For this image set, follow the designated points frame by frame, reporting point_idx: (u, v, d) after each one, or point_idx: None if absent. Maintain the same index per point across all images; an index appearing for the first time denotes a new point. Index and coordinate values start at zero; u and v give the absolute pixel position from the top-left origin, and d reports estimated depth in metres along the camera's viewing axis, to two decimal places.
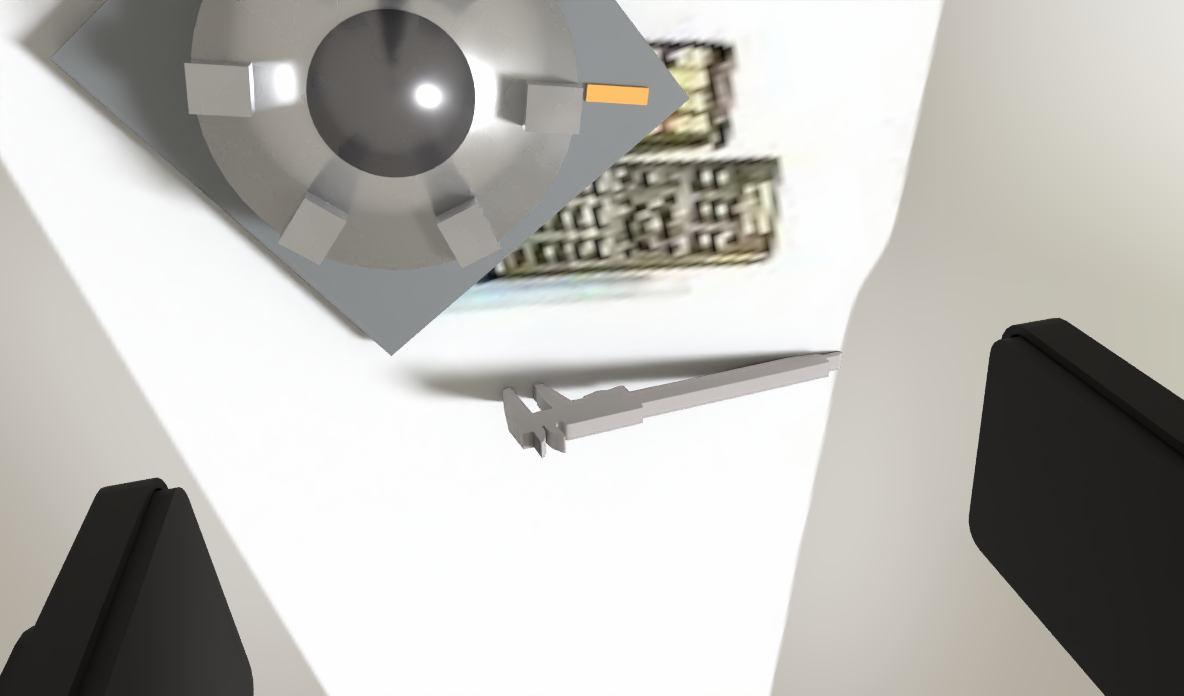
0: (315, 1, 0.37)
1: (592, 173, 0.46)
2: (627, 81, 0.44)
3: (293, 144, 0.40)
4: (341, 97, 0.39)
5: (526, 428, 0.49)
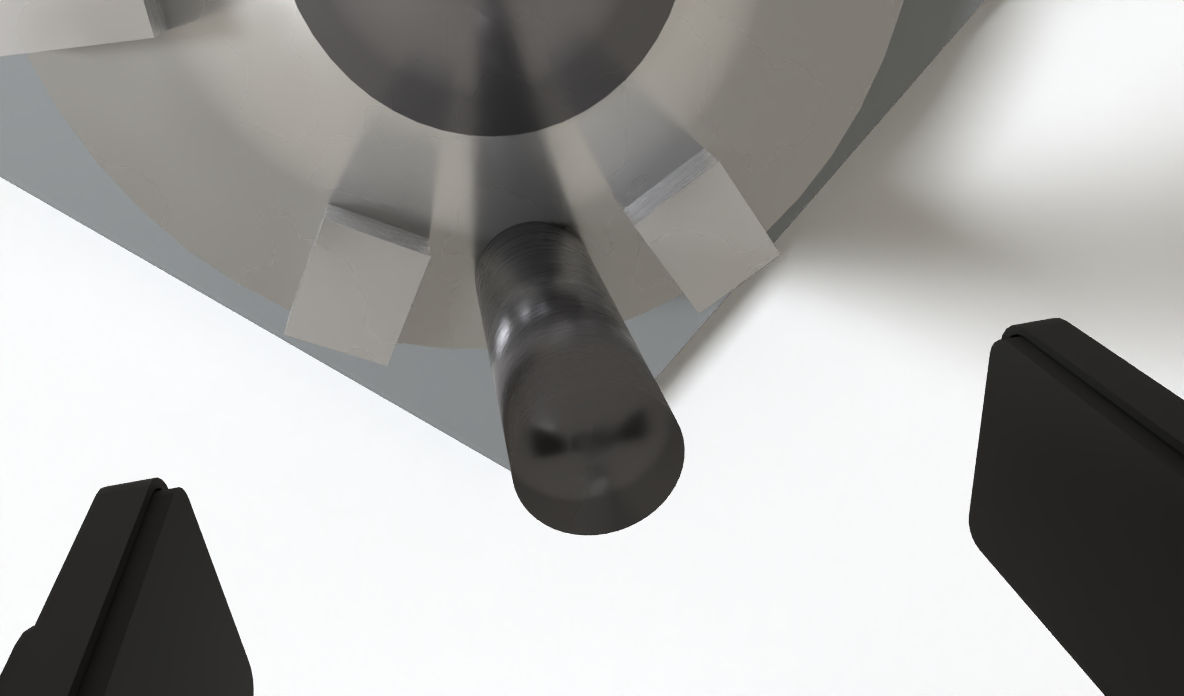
0: (670, 111, 0.18)
1: None
2: None
3: None
4: None
5: None
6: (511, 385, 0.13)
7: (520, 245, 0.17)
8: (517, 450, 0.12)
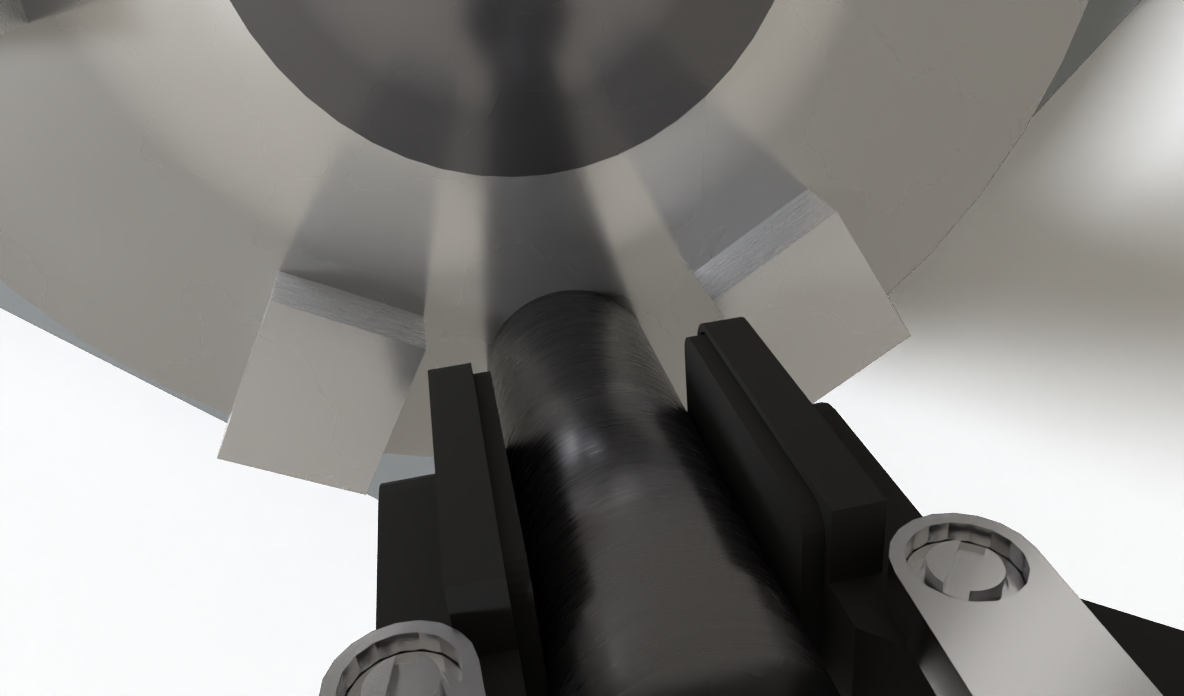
0: (765, 138, 0.13)
1: None
2: None
3: None
4: None
5: None
6: (558, 611, 0.08)
7: (555, 332, 0.12)
8: None
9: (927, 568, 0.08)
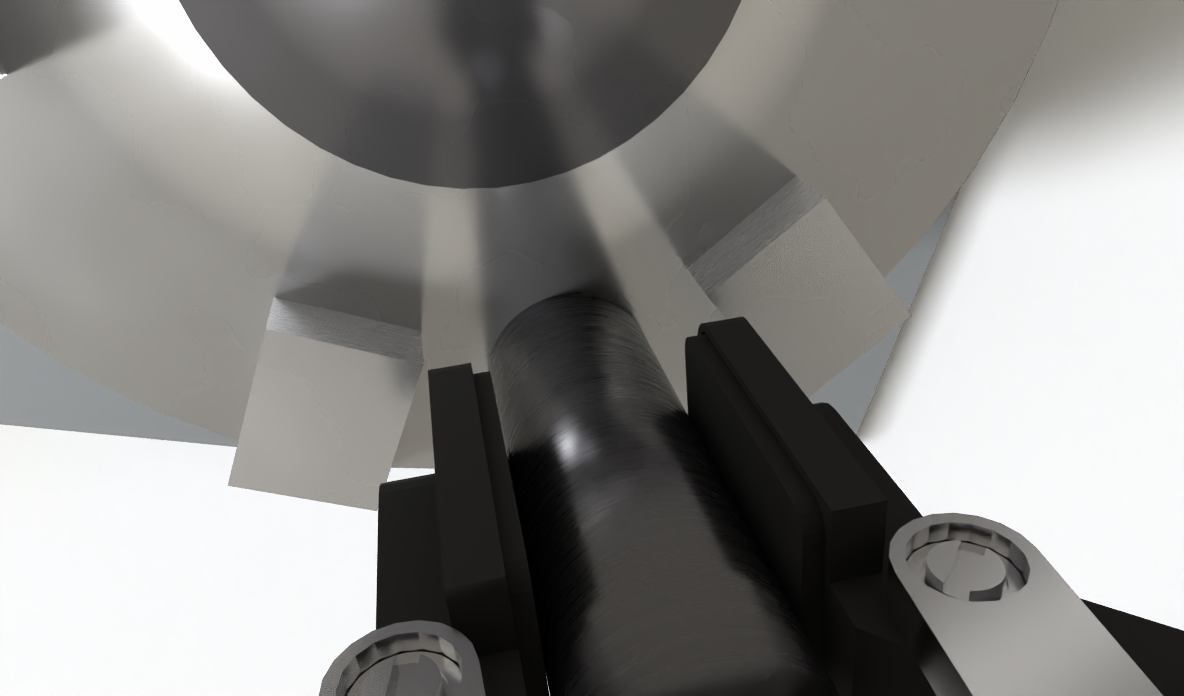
0: (748, 128, 0.13)
1: None
2: None
3: None
4: None
5: None
6: (557, 624, 0.08)
7: (550, 339, 0.12)
8: None
9: (927, 568, 0.08)
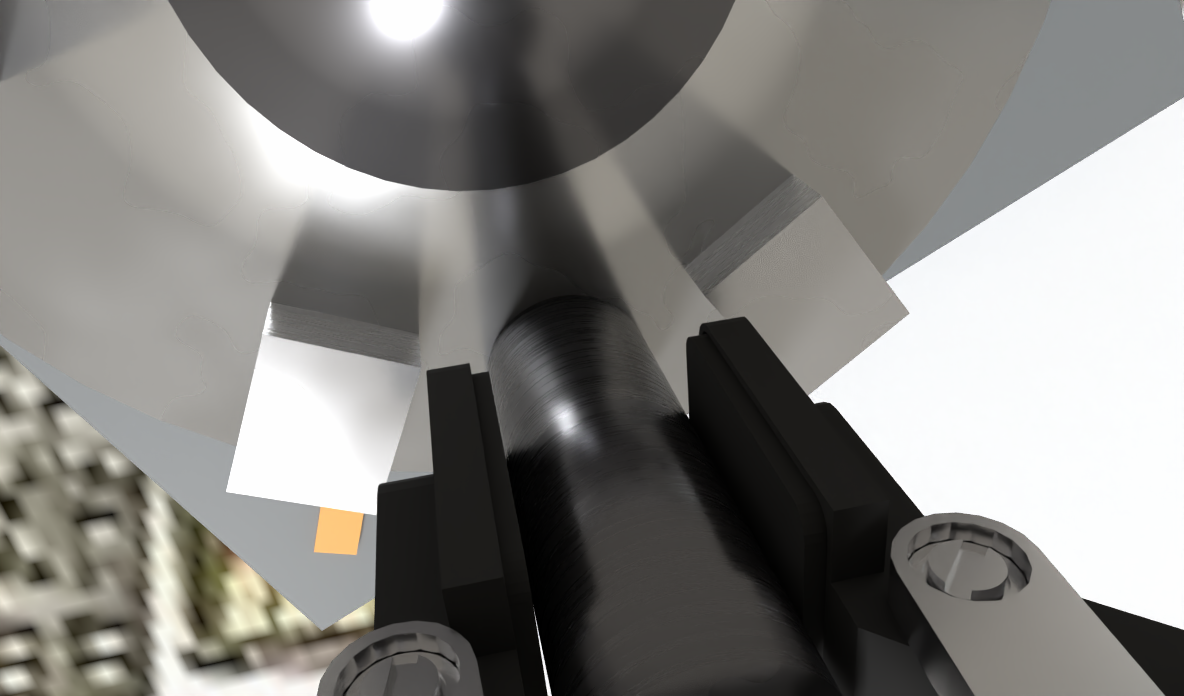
0: (744, 128, 0.13)
1: (119, 425, 0.16)
2: None
3: None
4: None
5: None
6: (557, 627, 0.08)
7: (548, 341, 0.12)
8: None
9: (929, 568, 0.08)
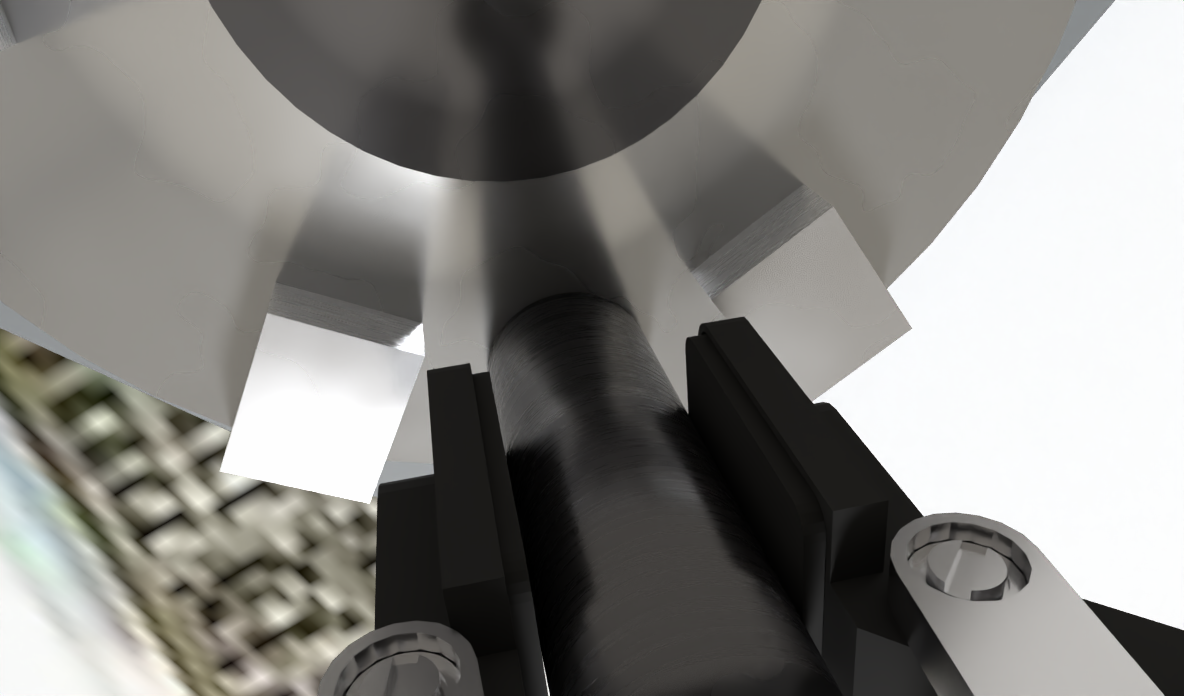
0: (759, 135, 0.13)
1: None
2: None
3: None
4: None
5: None
6: (559, 618, 0.08)
7: (554, 335, 0.12)
8: None
9: (928, 568, 0.08)
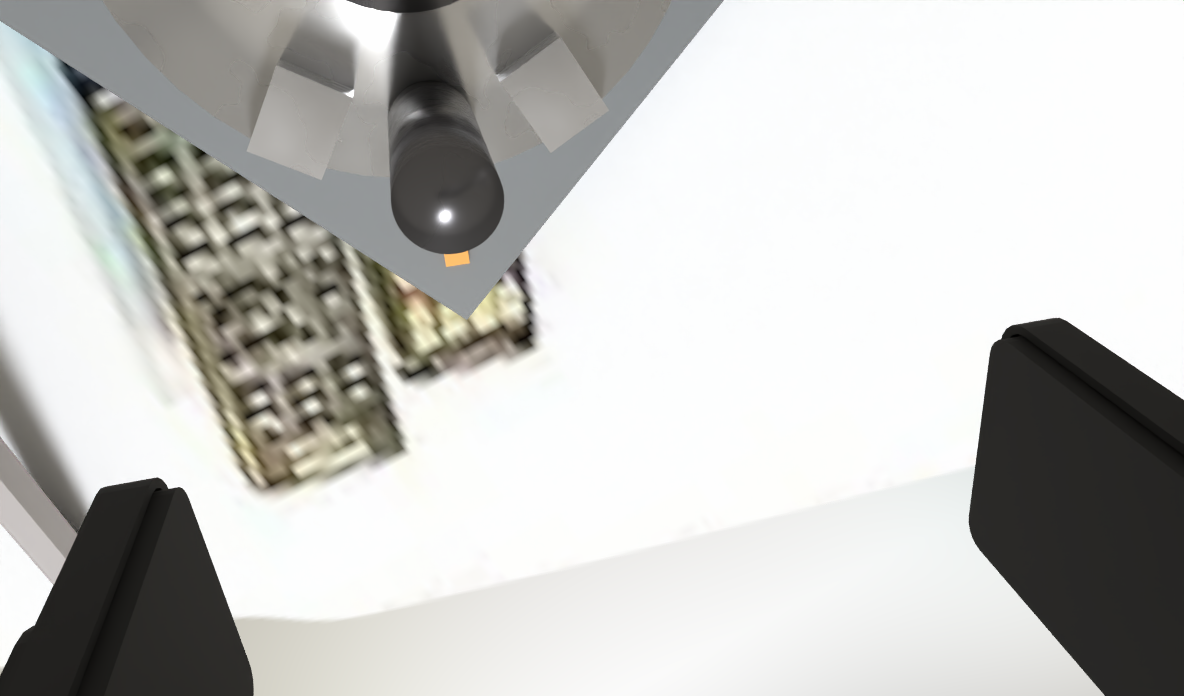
0: (529, 2, 0.25)
1: (323, 215, 0.30)
2: None
3: None
4: None
5: None
6: (395, 158, 0.21)
7: (417, 91, 0.24)
8: (394, 188, 0.20)
9: None
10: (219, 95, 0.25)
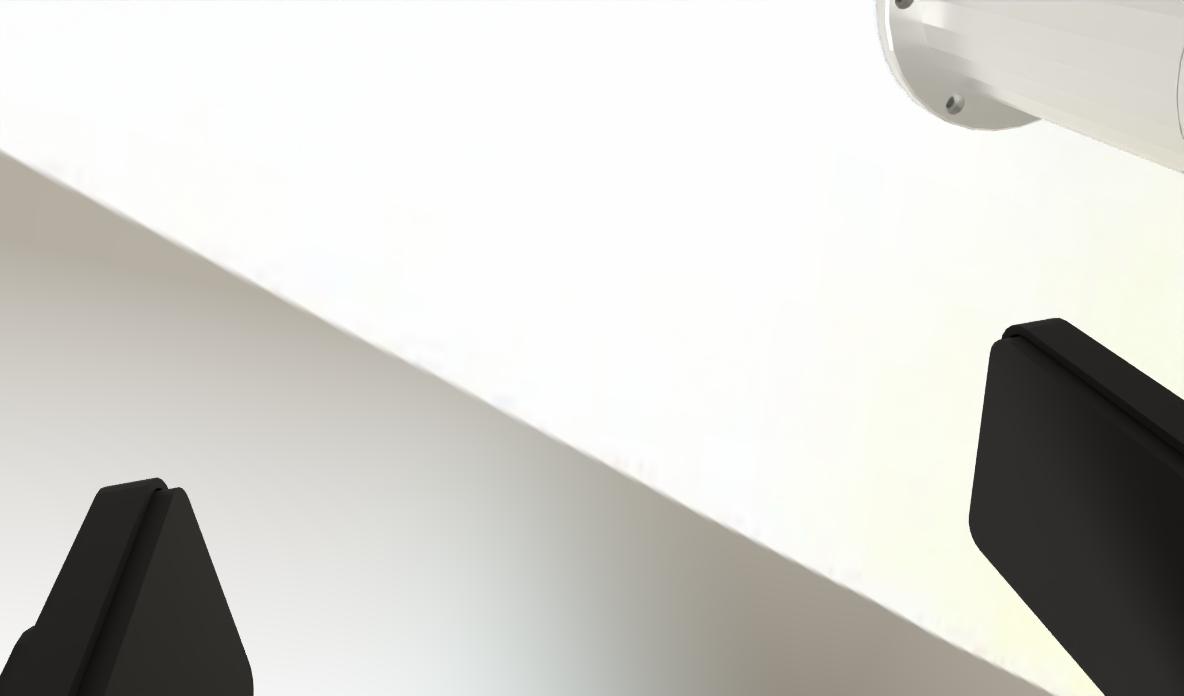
0: None
1: None
2: None
3: None
4: None
5: None
6: None
7: None
8: None
9: None
10: None
